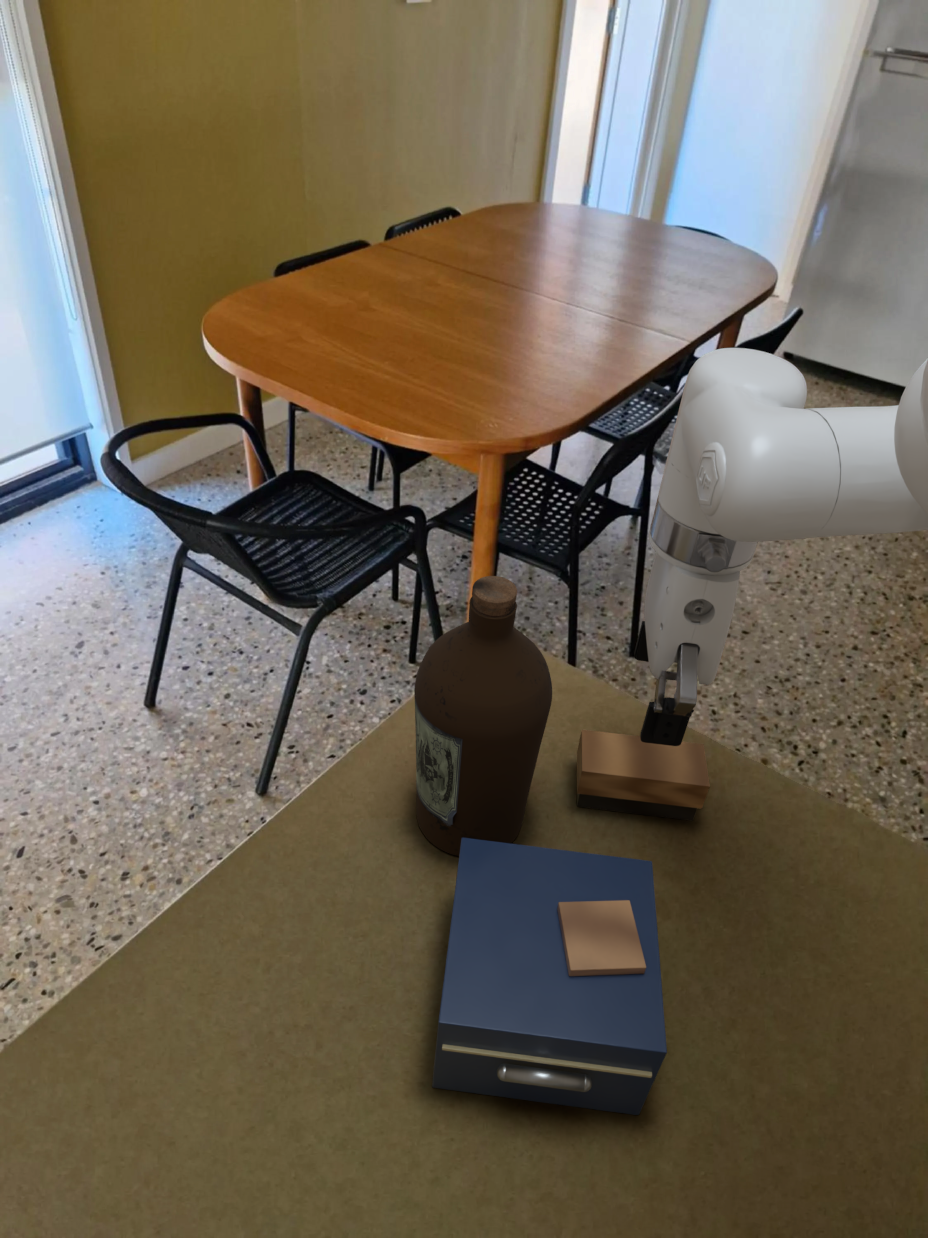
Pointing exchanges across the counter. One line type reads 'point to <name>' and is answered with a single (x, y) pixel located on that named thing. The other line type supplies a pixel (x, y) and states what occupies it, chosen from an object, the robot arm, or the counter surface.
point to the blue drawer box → (546, 983)
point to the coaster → (600, 938)
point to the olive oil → (479, 723)
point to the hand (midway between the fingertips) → (655, 698)
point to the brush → (640, 775)
